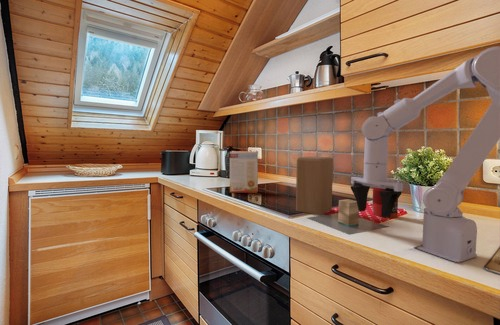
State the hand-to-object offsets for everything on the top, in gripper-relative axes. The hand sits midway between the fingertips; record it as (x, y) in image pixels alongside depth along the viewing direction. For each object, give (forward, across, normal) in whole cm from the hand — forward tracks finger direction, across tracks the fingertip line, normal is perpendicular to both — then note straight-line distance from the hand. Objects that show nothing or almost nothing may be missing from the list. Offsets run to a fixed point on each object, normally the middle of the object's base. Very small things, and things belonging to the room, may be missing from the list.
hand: (373, 214), depth 73 cm
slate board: (+6, +11, -1) cm, 12 cm away
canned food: (+6, +12, -20) cm, 24 cm away
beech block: (+5, +9, 0) cm, 10 cm away
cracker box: (+6, +76, +3) cm, 76 cm away
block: (+6, +27, -2) cm, 27 cm away
